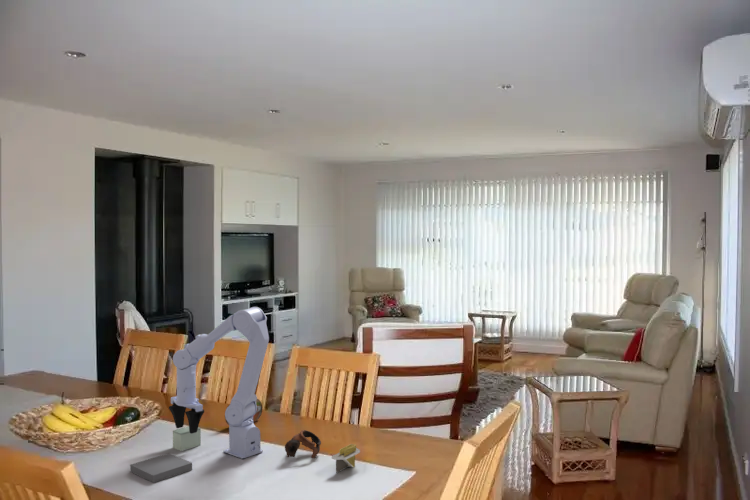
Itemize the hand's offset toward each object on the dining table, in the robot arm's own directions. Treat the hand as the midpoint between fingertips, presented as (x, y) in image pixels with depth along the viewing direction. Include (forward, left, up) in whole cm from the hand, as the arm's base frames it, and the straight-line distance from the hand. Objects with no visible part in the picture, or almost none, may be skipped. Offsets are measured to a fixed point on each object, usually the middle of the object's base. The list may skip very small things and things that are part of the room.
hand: (186, 430), depth 195 cm
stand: (-12, +16, -5) cm, 21 cm away
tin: (+5, -26, -5) cm, 27 cm away
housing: (0, 0, -5) cm, 5 cm away
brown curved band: (-34, -17, -5) cm, 38 cm away
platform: (-51, -19, -6) cm, 55 cm away
